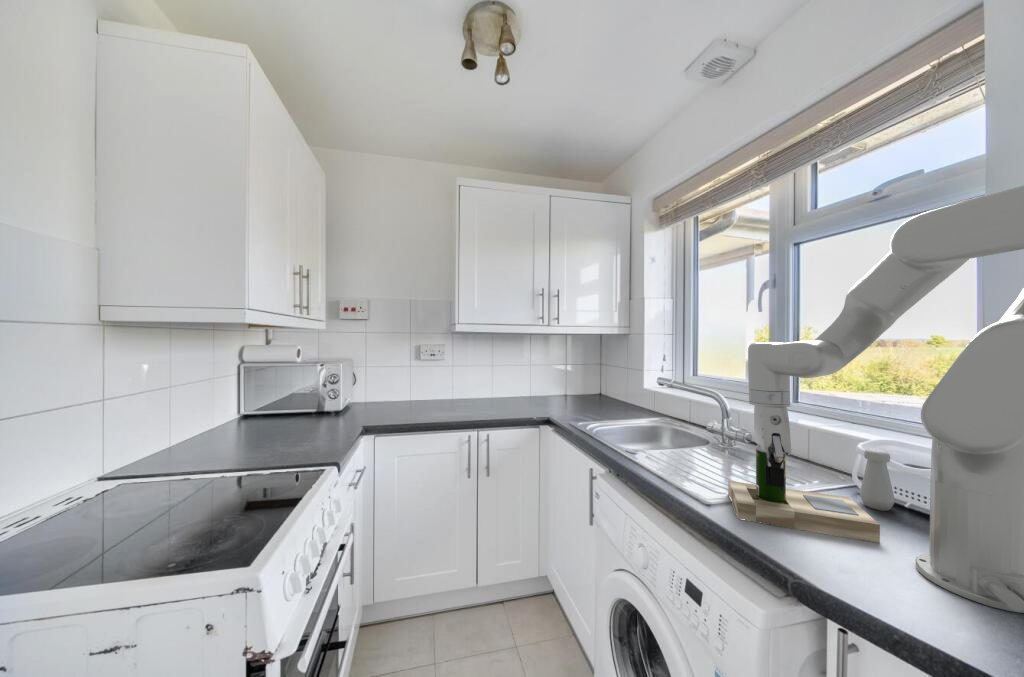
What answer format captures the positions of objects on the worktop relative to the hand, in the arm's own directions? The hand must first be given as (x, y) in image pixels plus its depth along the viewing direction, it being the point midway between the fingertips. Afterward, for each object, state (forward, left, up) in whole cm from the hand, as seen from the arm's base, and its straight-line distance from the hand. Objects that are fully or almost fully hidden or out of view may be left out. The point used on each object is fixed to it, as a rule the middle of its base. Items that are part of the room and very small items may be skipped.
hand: (770, 479), depth 81 cm
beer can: (0, 0, -5) cm, 5 cm away
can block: (0, -4, -7) cm, 8 cm away
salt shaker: (+13, -23, -7) cm, 28 cm away
